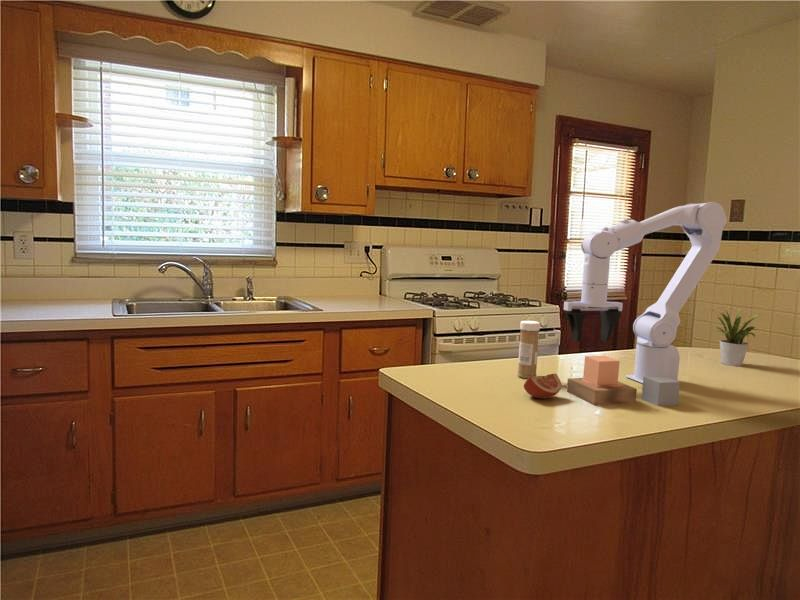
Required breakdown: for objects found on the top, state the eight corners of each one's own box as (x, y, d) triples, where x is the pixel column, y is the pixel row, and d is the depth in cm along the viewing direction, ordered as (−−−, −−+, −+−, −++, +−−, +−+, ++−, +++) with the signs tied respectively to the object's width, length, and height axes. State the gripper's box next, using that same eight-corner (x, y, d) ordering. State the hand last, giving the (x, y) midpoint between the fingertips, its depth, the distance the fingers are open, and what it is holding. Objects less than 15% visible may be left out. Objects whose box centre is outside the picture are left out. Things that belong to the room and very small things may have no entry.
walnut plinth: (605, 392, 132) (607, 375, 131) (635, 405, 122) (636, 387, 122) (566, 394, 129) (567, 377, 128) (593, 407, 119) (595, 389, 119)
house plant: (694, 363, 164) (700, 305, 162) (701, 355, 175) (707, 301, 173) (753, 372, 156) (760, 311, 154) (757, 363, 167) (764, 306, 165)
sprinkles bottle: (540, 378, 140) (544, 322, 139) (526, 380, 138) (530, 323, 136) (526, 373, 144) (530, 319, 142) (512, 375, 141) (516, 320, 140)
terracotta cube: (602, 377, 128) (604, 355, 128) (617, 384, 124) (619, 360, 123) (583, 378, 127) (585, 356, 126) (597, 385, 122) (599, 361, 122)
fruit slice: (543, 391, 128) (545, 369, 128) (568, 399, 123) (570, 376, 122) (516, 396, 123) (518, 373, 123) (541, 405, 118) (543, 381, 117)
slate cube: (661, 398, 127) (663, 375, 126) (677, 405, 122) (680, 381, 121) (641, 399, 125) (643, 376, 125) (657, 406, 121) (659, 382, 120)
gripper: (611, 282, 144) (607, 337, 145) (558, 281, 140) (554, 337, 141) (630, 285, 137) (625, 342, 138) (574, 284, 133) (570, 343, 135)
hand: (590, 340), depth 139 cm, fingers open, 7 cm apart
